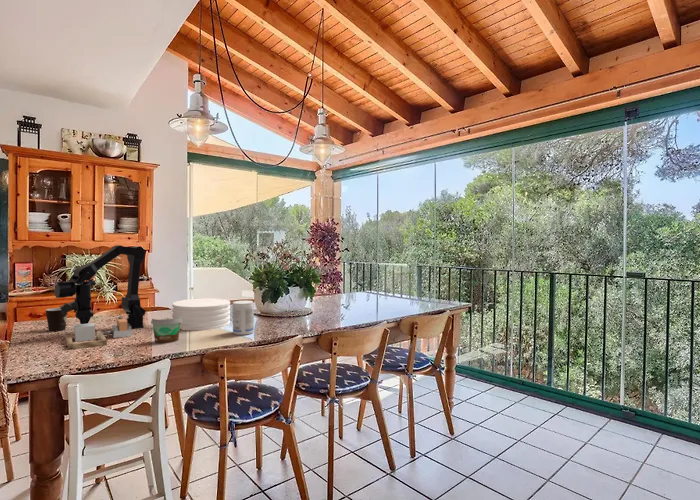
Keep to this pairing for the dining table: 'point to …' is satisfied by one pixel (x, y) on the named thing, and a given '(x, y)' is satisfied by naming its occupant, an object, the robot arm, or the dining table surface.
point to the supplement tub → (243, 317)
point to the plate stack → (202, 313)
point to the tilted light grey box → (84, 332)
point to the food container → (166, 330)
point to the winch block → (119, 332)
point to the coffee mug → (56, 319)
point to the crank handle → (121, 324)
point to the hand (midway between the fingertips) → (83, 330)
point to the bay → (86, 344)
